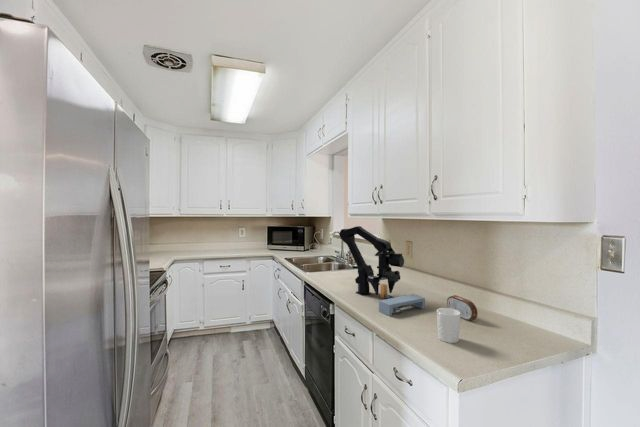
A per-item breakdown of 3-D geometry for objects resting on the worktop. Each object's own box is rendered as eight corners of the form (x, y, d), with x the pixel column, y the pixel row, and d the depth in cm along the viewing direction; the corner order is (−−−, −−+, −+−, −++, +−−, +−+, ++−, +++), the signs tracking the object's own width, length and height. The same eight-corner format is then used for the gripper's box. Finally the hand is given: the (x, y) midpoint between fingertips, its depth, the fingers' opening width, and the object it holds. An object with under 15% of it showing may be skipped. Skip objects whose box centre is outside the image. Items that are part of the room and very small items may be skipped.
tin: (478, 322, 120) (478, 302, 120) (472, 323, 119) (472, 303, 119) (451, 311, 134) (451, 292, 134) (445, 311, 133) (445, 293, 133)
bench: (378, 311, 133) (378, 300, 133) (413, 304, 144) (413, 294, 144) (389, 316, 127) (389, 304, 127) (424, 308, 138) (424, 297, 138)
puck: (389, 311, 134) (389, 308, 134) (395, 309, 136) (395, 306, 136) (395, 314, 131) (395, 310, 131) (402, 312, 133) (402, 309, 133)
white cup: (431, 336, 106) (431, 309, 106) (447, 333, 110) (447, 306, 110) (449, 345, 99) (449, 316, 99) (465, 341, 102) (465, 313, 102)
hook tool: (373, 298, 153) (373, 285, 153) (384, 296, 157) (384, 283, 156) (394, 307, 139) (394, 292, 139) (405, 305, 143) (405, 290, 143)
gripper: (380, 269, 143) (380, 300, 143) (407, 265, 152) (407, 295, 152) (366, 265, 153) (366, 294, 153) (393, 262, 162) (393, 290, 162)
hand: (383, 293), depth 155 cm, fingers open, 9 cm apart
